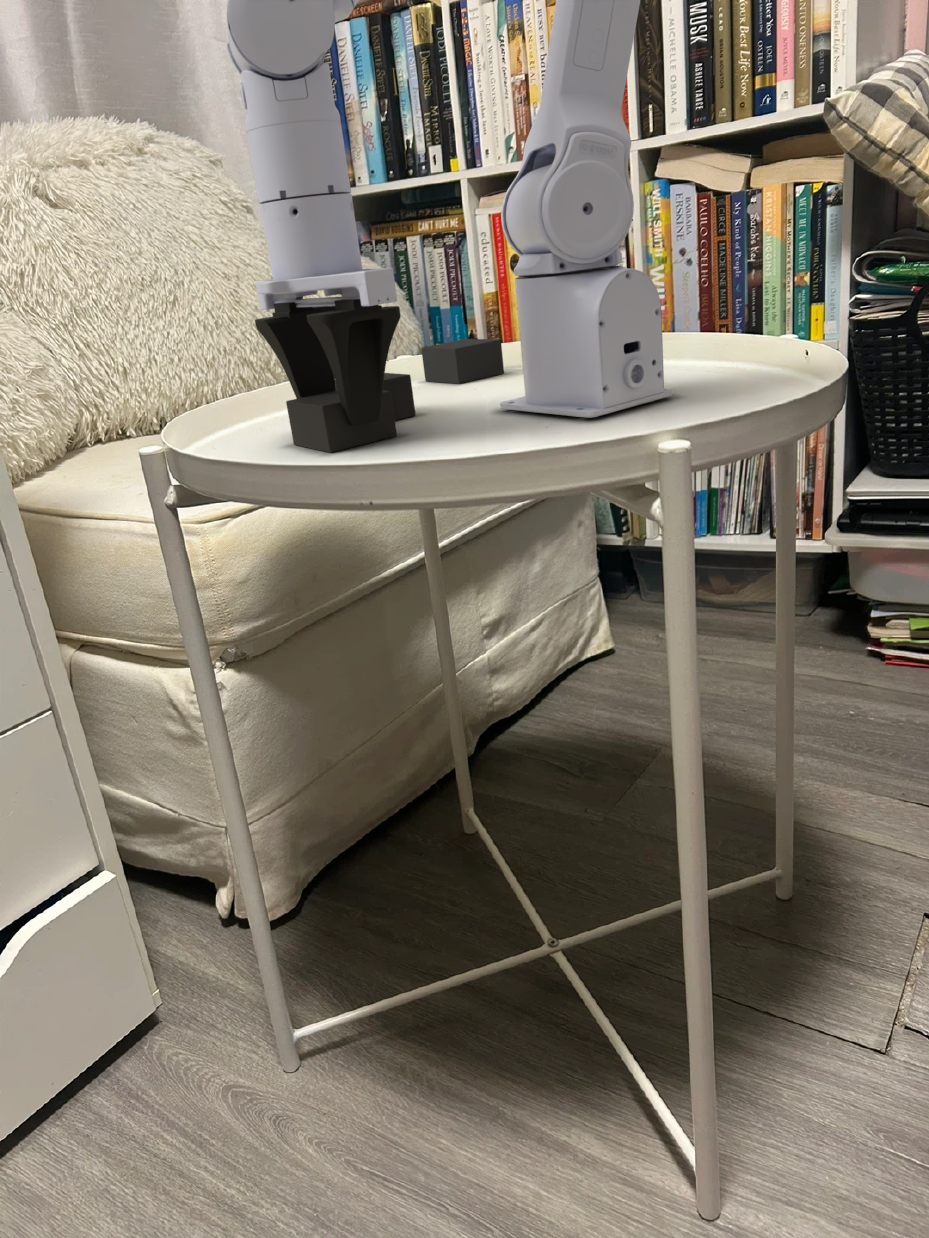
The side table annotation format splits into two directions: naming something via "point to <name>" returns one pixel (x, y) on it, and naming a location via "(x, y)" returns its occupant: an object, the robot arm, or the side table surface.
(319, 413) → the pad middle
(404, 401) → the pad top
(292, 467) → the side table surface
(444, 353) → the pad base
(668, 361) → the side table surface
